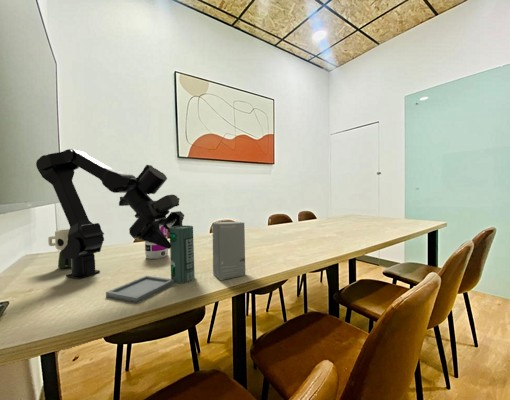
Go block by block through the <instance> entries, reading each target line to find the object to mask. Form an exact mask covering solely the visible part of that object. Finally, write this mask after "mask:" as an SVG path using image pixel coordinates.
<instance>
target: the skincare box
mask: <svg viewBox="0 0 510 400" xmlns="http://www.w3.org/2000/svg"><path fill="white" fill-rule="evenodd" d="M211 226H212V227H211V228H212V274H213V275H214V276H215V277H216V278H217V279H218V280H219V281H224V280H228V279H234V278H238V277H243V276H246V240H245V237H246V235H245V234H246V233H245V230H246V229H245V222H242V221H240V222H239V221H221V222H220V221H217V222H215V221H214V222H212V224H211Z"/></svg>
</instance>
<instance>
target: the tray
mask: <svg viewBox="0 0 510 400" xmlns="http://www.w3.org/2000/svg"><path fill="white" fill-rule="evenodd" d="M172 285H175V283H174V279H171V278H166V277H160V276H159V277H158V276H153V275H145V276H142V277H139V278H137V279H134V280H132V281H130V282H128V283H125V284H123V285H120V286H118V287H115V288H113V289H110V290H108V291H106V292H105V298H108V299H114V300H119V301H122V302H123V301H124V302H128V303H132V304H133V303H134V304H138V303H141V302H143V301H144V300H146V299H149V298H150V297H151V296H154V295H156V294H158V293H159V292H161V291H163V290H166V289H168V288H169V287H172Z"/></svg>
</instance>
